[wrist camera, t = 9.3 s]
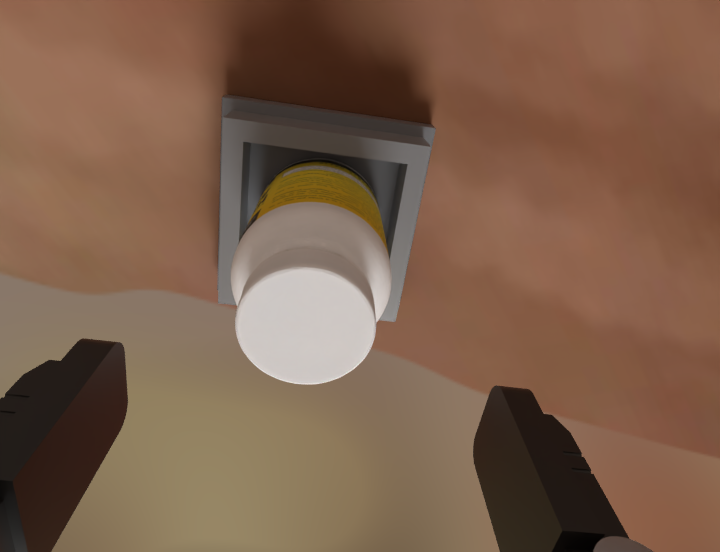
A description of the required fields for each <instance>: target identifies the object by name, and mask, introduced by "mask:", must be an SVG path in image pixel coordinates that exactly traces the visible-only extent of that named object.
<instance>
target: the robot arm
mask: <svg viewBox="0 0 720 552" xmlns="http://www.w3.org/2000/svg"><path fill="white" fill-rule="evenodd" d="M127 405H128V395H127V381H126V365H125V352H124V347H123V345H122V343H120V342H111V341H102V340H93V339H81V340H79V341H78V342H77V343H76V344H75V345H74V346H73V347H72V349H71V350H70V351H69V352H68V353H67V354H66V356H65V357H64V358H63V359H62V360H61V361H55V360H48V361H47V362H45V363H43V364H41V365H39V366H38V367H36V368H34V369H32V370H31V371H29V372H27V373H25V374H24V375H23V376H22V377H21V378H20V379H19V380H18V381H17V382H16V383H15V384H14V385H13V386H12V387H11V388H10V389H9V390H8V391H7V392H6V394H5V397H4V398H1V399H0V552H51V551H52V549H53V547H54V546H55V544H56V542H57V540H58V539H59V537H60V535H61V533H62V531H63V530H64V528H65V526H66V525H67V523H68V521H69V519H70V518H71V516H72V514H73V512H74V511H75V509H76V507H77V505H78V504H79V502H80V500H81V498H82V497H83V495H84V493H85V491H86V490H87V488H88V486H89V484H90V483H91V481H92V479H93V477H94V476H95V474H96V472H97V470H98V469H99V467H100V465H101V463H102V462H103V460H104V458H105V456H106V454H107V453H108V451H109V449H110V448H111V446H112V444H113V442H114V441H115V439H116V437H117V435H118V434H119V432H120V430H121V428H122V426H123V423H124V420H125V416H126V412H127ZM581 454H582V453H581V451H580V449H579V447H578V446H577V444H576V442H575V440H574V438H573V437H572V435H571V433H570V432H569V431H568V430H567V429H566V428H565V427H564V426H563V425H562V424H561V423H560V422H559V421H558V420H557V419H556V418H555V417H553V416H552V415H548V414H543V412H542V410H541V408H540V406H539V404H538V402H537V400H536V399H535V397H534V395H533V393H532V392H531V391H530V390H529V389H522V388H513V387H504V386H494V387H493V388H492V390H491V392H490V394H489V397H488V400H487V403H486V406H485V409H484V412H483V415H482V418H481V421H480V423H479V426H478V429H477V432H476V435H475V439H474V446H473V457H474V464H475V468H476V472H477V475H478V478H479V482H480V485H481V489H482V492H483V495H484V498H485V502H486V506H487V509H488V512H489V516H490V519H491V523H492V526H493V529H494V533H495V536H496V540H497V543H498V546H499V550H500V552H653V551H652V550H650V549H649V548H647V547H646V546H644V545H642V544H640V543H638V542H636V541H633V540H631V539H629V537H628V535H627V533H626V532H625V530H624V528H623V526H622V525H621V523H620V521H619V519H618V517H617V516H616V514H615V512H614V510H613V509H612V507H611V505H610V503H609V501H608V499H607V498H606V496H605V494H604V492H603V490H602V489H601V487H600V485H599V483H598V482H597V480H596V478H595V476H594V474H591V469H590V467H589V465H588V464H587V462H586V460H585V458H584V457H582V456H581Z"/></svg>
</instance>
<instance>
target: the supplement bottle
mask: <svg viewBox="0 0 720 552" xmlns="http://www.w3.org/2000/svg"><path fill="white" fill-rule="evenodd" d="M391 282H392V276H391V266H390V259H389V255H388V250H387V244H386V239H385V234H384V230H383V225H382V220H381V215H380V210H379V206H378V202H377V200H376V197H375V194H374V192H373V190H372V189H371V187H370V185H369V184H368V182H367V181H366V180H365V179H364V178H363V177H362V176H361V175H360V174H359V173H358V172H357V171H356V170H354V169H353V168H351V167H350V166H348V165H346V164H344V163H342V162H339V161H336V160H332V159H326V158H311V159H304V160H301V161H297V162H295V163H292V164H290V165H288V166H287V167H285V168H283V169H282V170H281V171H279V172H278V173H277V174H276V175H275V176H274V177H273V178H272V180H271V181H270V182H269V184H268V185H267V187H266V188H265V190H264V192H263V193H262V195H261V198H260V200H259V202H258V204H257V206H256V208H255V210H254V212H253V215H252V217H251V219H250V221H249V223H248V225H247V227H246V229H245V231H244V233H243V235H242V237H241V238H240V241H239V243H238V246H237V249H236V251H235V254H234V257H233V261H232V267H231V287H232V292H233V296H234V299H235V302H236V305H237V310H236V316H235V328H236V334H237V338H238V341H239V344H240V346H241V348H242V350H243V352H244V353H245V354H246V356H247V357H248V358H249V359H250V361H251V362H252V363H254V365H255V366H256V367H258V368H259V369H260V370H262V371H263V372H265V373H266V374H268V375H270V376H272V377H274V378H277V379H279V380H282V381H285V382H290V383H295V384H320V383H325V382H329V381H332V380H334V379H337V378H340V377H342V376H343V375H345V374H347V373H349V372H350V371H352V370H353V369H354V368H356V367H357V366H358V365H359V364H360V363H361V362H362V361H363V360H364V358H365V357H366V356H367V354H368V352H369V351H370V349H371V347H372V344H373V341H374V338H375V333H376V323H377V321H378V320H379V319H380V317H381V315H382V314H383V312H384V310H385V308H386V305H387V303H388V300H389V297H390V292H391Z"/></svg>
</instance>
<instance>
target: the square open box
mask: <svg viewBox="0 0 720 552" xmlns="http://www.w3.org/2000/svg"><path fill="white" fill-rule="evenodd" d="M435 129H436V128H435V127H434V126H433V125H431V124H424V123H418V122H411V121H404V120H397V119H390V118H384V117H377V116H370V115H363V114H356V113H350V112H343V111H336V110H329V109H322V108H315V107H309V106H302V105H295V104H288V103H281V102H275V101H268V100H261V99H254V98H247V97H241V96H234V95H225V96H223V97H222V120H221V162H220V204H219V246H218V288H217V290H218V303H221V304H230V305H236V302H235V299H234V296H233V292H232V287H231V267H232V261H233V257H234V254H235V251H236V249H237V246H238V243H239V241H240V238H241V237H242V235H243V233H244V231H245V229H246V227H247V225H248V223H249V221H250V219H251V217H252V215H253V212H254V210H255V208H256V206H257V204H258V202H259V200H260V198H261V195H262V193H263V192H264V190H265V188H266V187H267V185H268V184H269V182H270V181H271V180H272V178H273V177H274V176H275V175H276V174H277V173H278V172H279V171H281V170H282V169H283V168H285V167H287V166H288V165H290V164H292V163H295V162H297V161H301V160H304V159H311V158H326V159H332V160H336V161H339V162H342V163H344V164H346V165H348V166H350V167H351V168H353V169H354V170H356V171H357V172H358V173H359V174H360V175H361V176H362V177H363V178H364V179H365V180H366V181H367V182H368V184H369V185H370V187H371V189H372V190H373V192H374V194H375V197H376V200H377V202H378V206H379V210H380V215H381V220H382V225H383V230H384V234H385V239H386V244H387V250H388V255H389V259H390V266H391V276H392V282H391V292H390V297H389V300H388V303H387V305H386V308H385V310H384V312H383V314H382V315H381V317H380V319H379V320H383V321H393V322H395V321H396V316H397V311H398V309H399V304H400V299H401V294H402V289H403V285H404V280H405V275H406V270H407V265H408V260H409V255H410V251H411V246H412V241H413V236H414V231H415V226H416V222H417V217H418V212H419V207H420V202H421V197H422V192H423V188H424V183H425V178H426V173H427V168H428V163H429V158H430V154H431V149H432V144H433V139H434V134H435Z"/></svg>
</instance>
